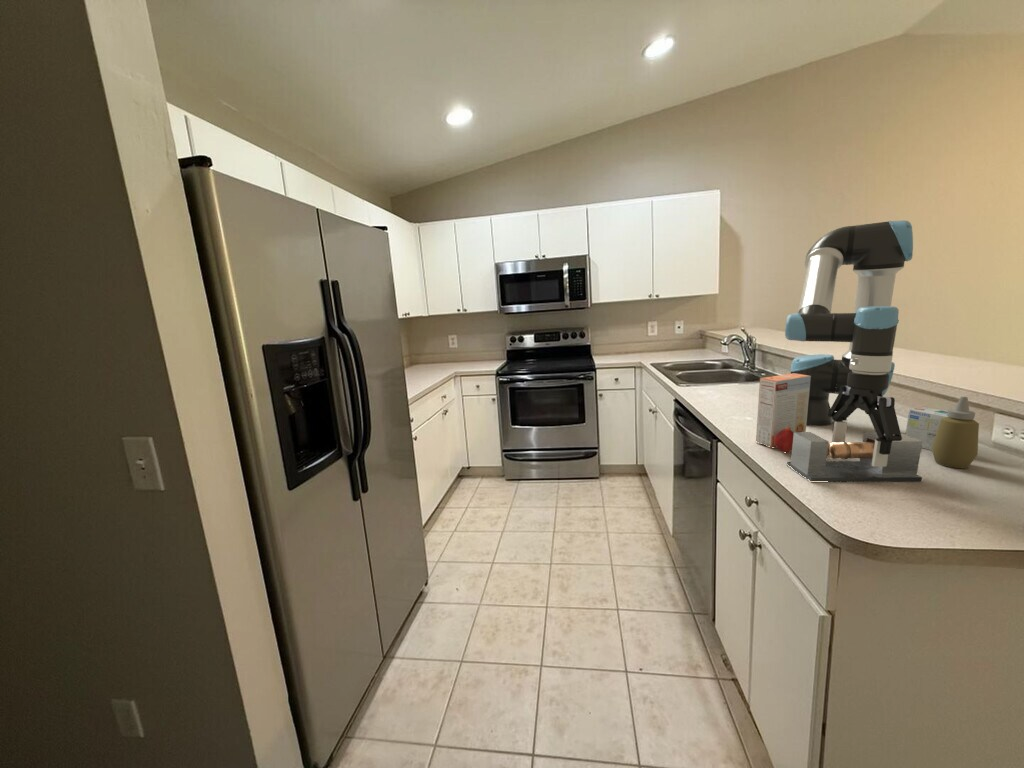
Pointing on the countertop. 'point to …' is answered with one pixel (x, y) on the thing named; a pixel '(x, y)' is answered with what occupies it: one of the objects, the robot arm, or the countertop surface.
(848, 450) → the copper tube
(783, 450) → the red round fruit
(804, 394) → the cracker box
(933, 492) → the countertop surface
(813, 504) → the countertop surface
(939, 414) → the light bulb box
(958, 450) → the squeeze bottle
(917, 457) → the jig
